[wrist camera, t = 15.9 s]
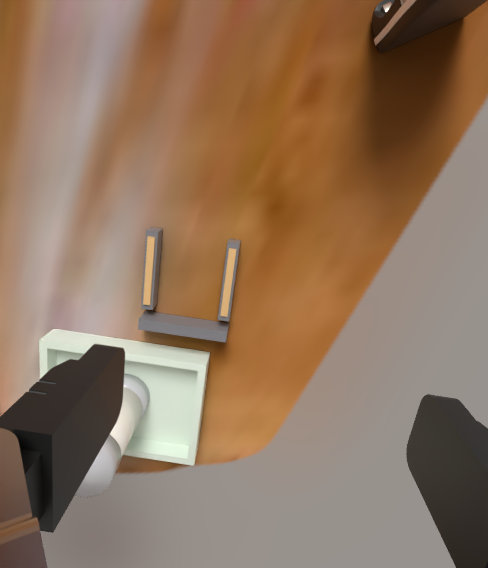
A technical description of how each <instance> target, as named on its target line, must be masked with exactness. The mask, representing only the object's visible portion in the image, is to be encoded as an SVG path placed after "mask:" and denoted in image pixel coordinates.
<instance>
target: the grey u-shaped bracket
mask: <svg viewBox="0 0 488 568" xmlns="http://www.w3.org/2000/svg"><path fill="white" fill-rule="evenodd" d="M162 232H163V229H161V228H154V227H151V228H149V229H147V230H146V242H145V257H144V272H143V288H142V303H141V309H148V310H153V309H154V307H155V306H156V305H157V297H158V284H159V271H160V258H161V245H162ZM240 242H241V240H235V239H229V240H228V243H227V251H226V259H225V267H224V275H223V282H222V290H221V298H220V306H219V313H218V320H222V321H228V322H229V319H230V314H231V307H232V300H233V293H234V286H235V278H236V271H237V264H238V257H239V250H240ZM138 329H139V330H146V331H152V332H159V333H165V334H172V335H179V336H185V337H192V338H199V339H205V340H212V341H219V342H225V343H226V340H227V335H228V329H229V323H224V322H217V321H210V320H204V319H197V318H190V317H184V316H177V315H170V314H164V313H157V312H150V311H145V312H144V313H143V315H142V316H141V317H140V318H139V325H138Z"/></svg>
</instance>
